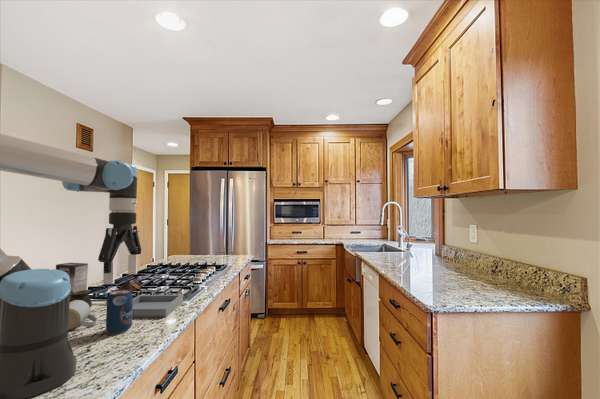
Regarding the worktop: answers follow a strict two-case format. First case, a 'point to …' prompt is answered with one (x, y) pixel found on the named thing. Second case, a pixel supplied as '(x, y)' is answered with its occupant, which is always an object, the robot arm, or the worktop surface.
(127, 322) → the soda can
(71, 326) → the ceramic mug
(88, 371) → the worktop surface
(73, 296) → the mate gourd
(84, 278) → the coffee box
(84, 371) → the worktop surface
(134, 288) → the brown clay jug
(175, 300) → the tray
